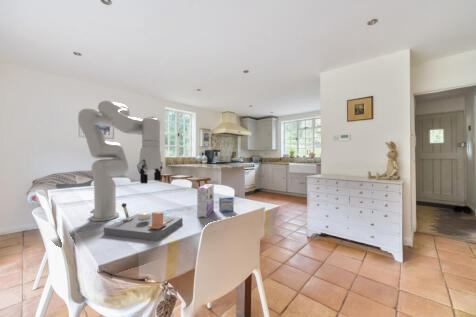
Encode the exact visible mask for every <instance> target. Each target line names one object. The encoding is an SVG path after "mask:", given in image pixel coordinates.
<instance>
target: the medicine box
mask: <svg viewBox="0 0 476 317" xmlns="http://www.w3.org/2000/svg"><path fill="white" fill-rule="evenodd" d="M218 199H219V200H218V202H219V203H218V206H219V207H218V208H219V210H218V211H219V212H221V214H224V213H231V212H234V206H235V205H234V200H235V199H234V197H233V196H232V195H229V196H220V197H218Z"/></svg>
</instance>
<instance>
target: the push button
mask: <svg viewBox="0 0 476 317" xmlns="http://www.w3.org/2000/svg"><path fill="white" fill-rule="evenodd" d="M137 214H138V220H139V221H145V220H149V219H150V215H151V213H150V212H148V211H147V212H146V211H143V212H139V213H137Z"/></svg>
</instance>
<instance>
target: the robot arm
mask: <svg viewBox="0 0 476 317" xmlns="http://www.w3.org/2000/svg"><path fill="white" fill-rule="evenodd" d="M77 117H78V118H77V120H78V121H77V122H78V125H79V128H80V129H81V131H82V133H83V135H84V136H85V139H86V144H87V146H88V150H89V152H90V155H91V157H93V158H94V159H98V160H95V161H94V162H93V163H92V164H91V172H92V176H93V178H92V179H93V189H94V190H93V192H94V193H93V194H94V196H93V197H94V198H93V199H94V201H93V203H94V204H93V205H94V206H93V207H94V208H92V210H91V211H90V214H93V215H92V216H90V220H91V221H92V222H105V221H110V220H114V219H116V218H119V216H120V213H119V212H117V208H116V207H117V206H116V204H117V203H116V202H117V198H116V193H117V192H116V191H117V190H116V189H117V188H116V182H115V181H114V179H113V178H112V177H117V176H119V177H120V176H124V175H127V173H128V172H129V163H128V160H127V156H126V153H125V150H124V147H123V146H122V145H121V144H120V143H119V142H113V141H107V138H106V136H105V133H104V132H103V131H102V130H101V129H100V128H99V127H98V126H100V127H101V126H102V127H109V128H112V127H114V128H115V129H116V130H118V131H120V132H122V133H125V134H129V135H140V136H141V138H142V139H141V148H140V152H139V160H138V163H137V164H136V169H137V171H138V173H139V175H140V179H139V180H140V181H139V182H140V184H148V177H149V176H148V172H149V170H153V171H154V174H153V176H154V181H161V180H162V175H161V174H162V170H163V166H164V163H163V161H162V155H161V150H160V149H161V134H160V133H161V124H160V123H161V122H160V120H159V119H158V118H155V117H144V118H143V119H142V118H137V117H131V116H130V109H129V107H128V106H126V105H125V104H123V103H119V102H115V101H110V100H103V101H100V102H99V103H98V105H97V109H95V108H82V109H81V110H80V111H79V113H78V116H77Z"/></svg>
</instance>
